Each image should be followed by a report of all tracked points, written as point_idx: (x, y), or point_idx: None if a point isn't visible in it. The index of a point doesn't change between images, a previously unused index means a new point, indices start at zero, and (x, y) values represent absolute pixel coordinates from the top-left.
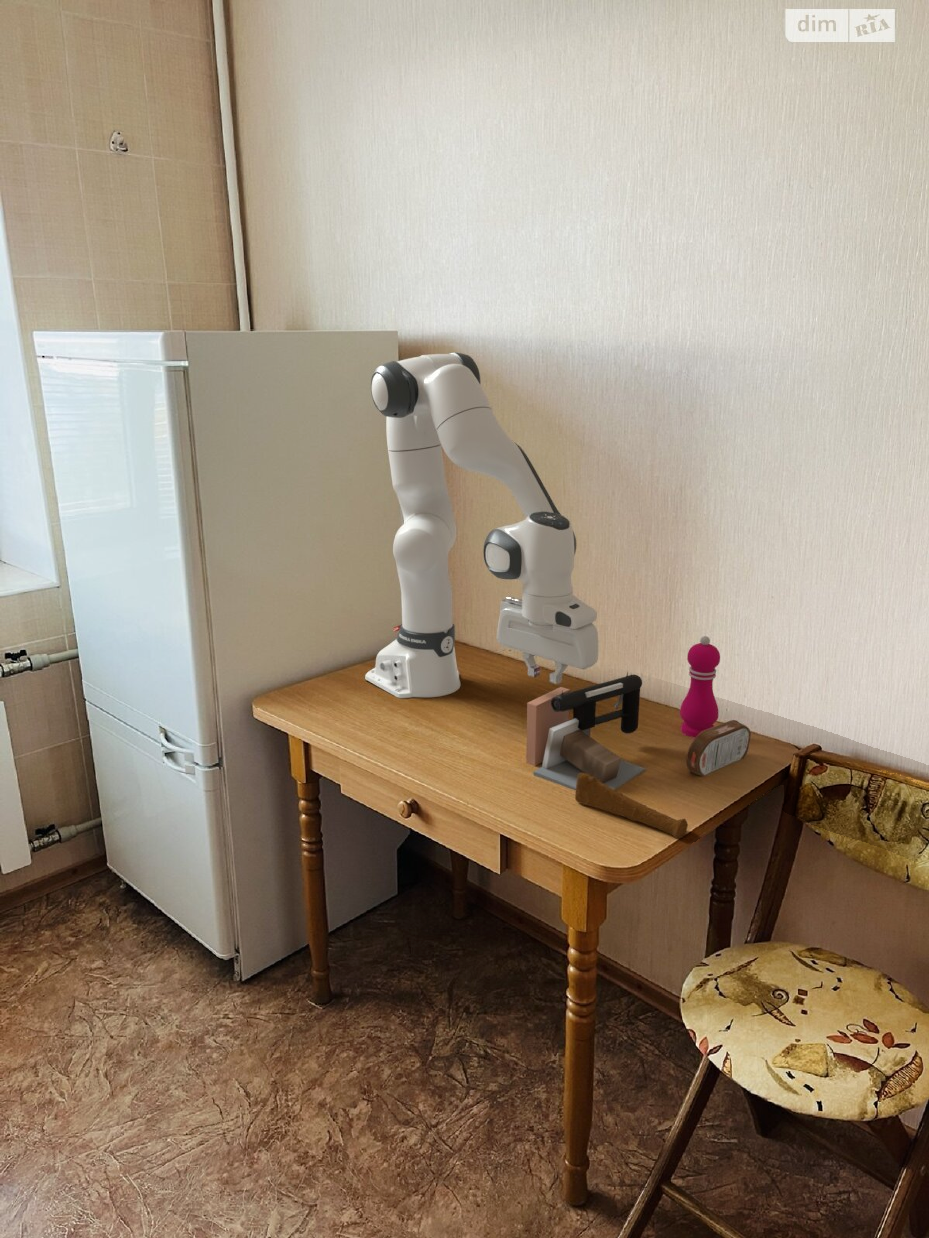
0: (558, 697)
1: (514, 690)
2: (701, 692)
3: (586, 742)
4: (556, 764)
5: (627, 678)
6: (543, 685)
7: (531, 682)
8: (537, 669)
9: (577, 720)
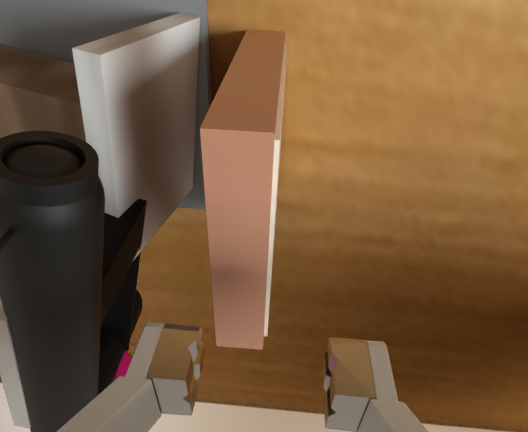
0: (16, 201)
1: (523, 352)
2: None
3: None
4: None
5: None
6: (464, 386)
7: (496, 387)
8: (328, 399)
9: None
